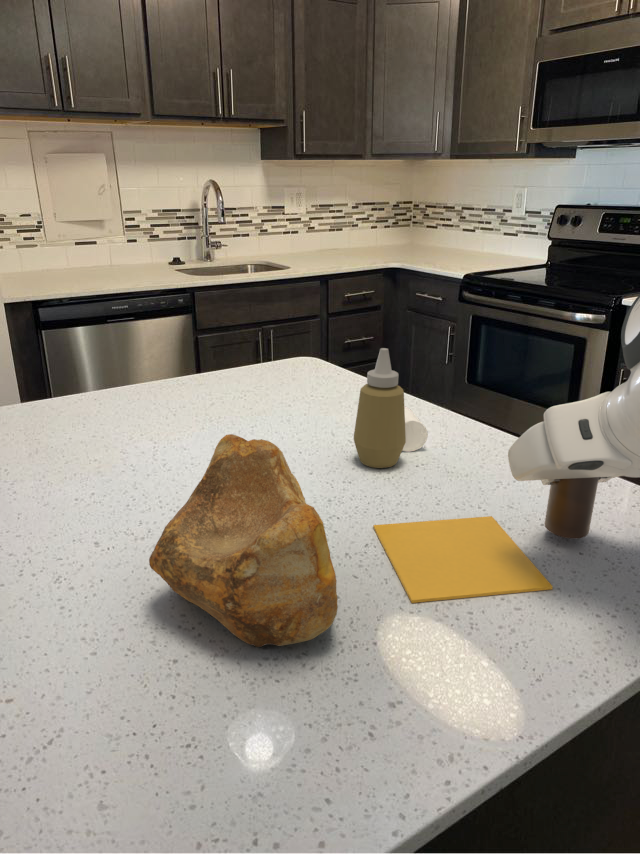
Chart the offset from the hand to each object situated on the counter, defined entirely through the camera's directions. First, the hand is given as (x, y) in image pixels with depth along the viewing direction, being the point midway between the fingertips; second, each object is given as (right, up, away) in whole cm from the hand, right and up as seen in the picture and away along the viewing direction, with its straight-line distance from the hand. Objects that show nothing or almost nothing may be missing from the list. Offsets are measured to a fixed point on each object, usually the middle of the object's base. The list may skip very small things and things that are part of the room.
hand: (571, 477), depth 80 cm
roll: (-17, +4, +33) cm, 37 cm away
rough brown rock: (-39, -12, -10) cm, 42 cm away
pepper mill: (0, -6, +2) cm, 7 cm away
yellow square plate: (-14, -9, -2) cm, 17 cm away
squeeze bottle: (-21, +1, +23) cm, 32 cm away
